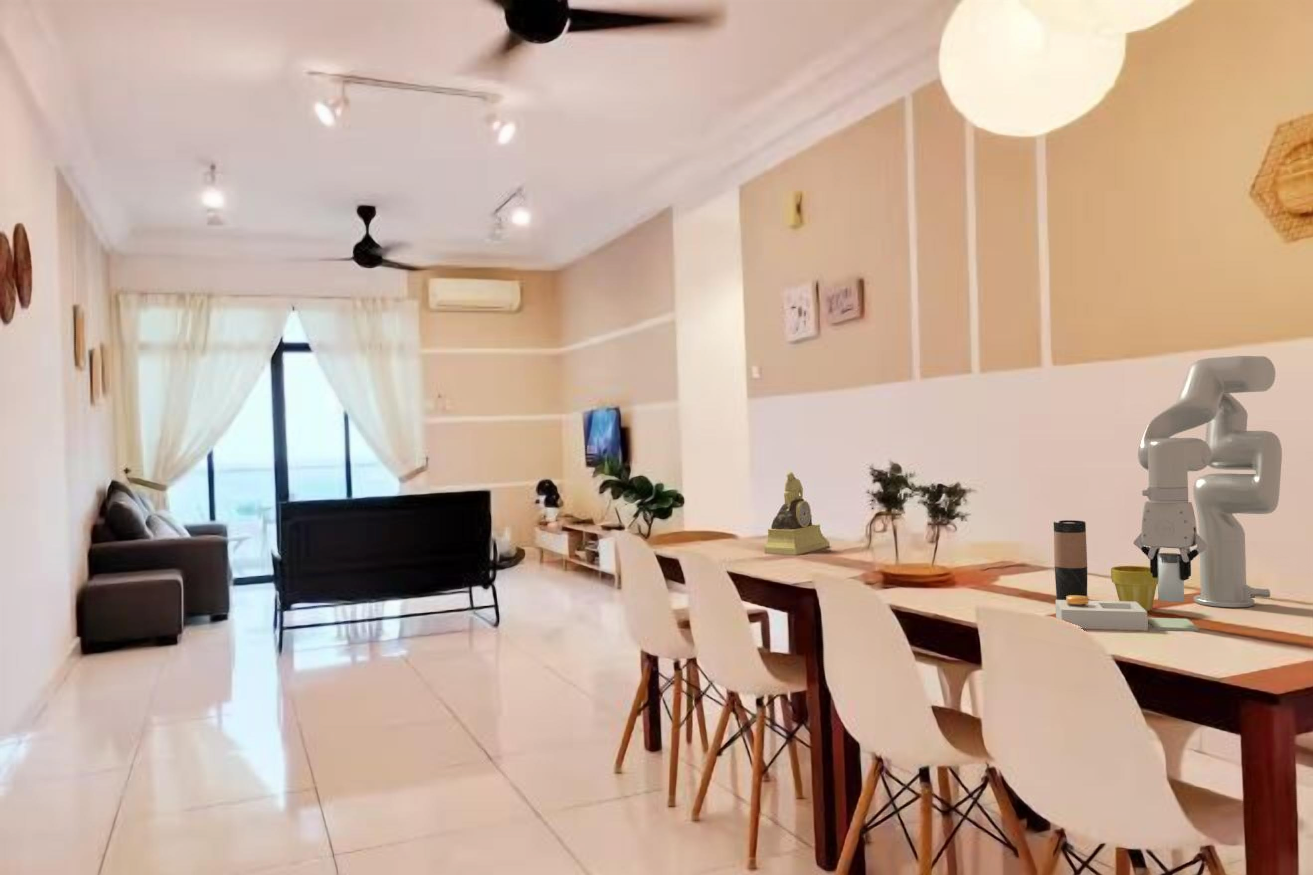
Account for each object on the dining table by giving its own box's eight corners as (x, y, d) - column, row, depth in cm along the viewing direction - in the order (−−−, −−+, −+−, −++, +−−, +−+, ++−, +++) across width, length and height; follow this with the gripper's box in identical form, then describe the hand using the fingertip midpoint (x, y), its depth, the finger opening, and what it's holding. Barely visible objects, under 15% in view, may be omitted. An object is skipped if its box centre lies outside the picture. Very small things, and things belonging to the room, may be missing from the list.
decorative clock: (795, 555, 333) (792, 473, 332) (764, 553, 340) (762, 473, 340) (829, 546, 355) (827, 469, 355) (799, 544, 363) (797, 469, 363)
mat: (1187, 621, 204) (1187, 618, 204) (1198, 630, 195) (1198, 628, 195) (1147, 620, 207) (1147, 617, 207) (1157, 629, 197) (1156, 626, 197)
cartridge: (1163, 597, 204) (1161, 552, 204) (1187, 599, 200) (1186, 554, 200) (1154, 600, 201) (1153, 554, 201) (1179, 602, 197) (1178, 556, 197)
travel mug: (1091, 602, 229) (1089, 523, 229) (1059, 602, 230) (1056, 523, 230) (1084, 597, 236) (1081, 519, 236) (1052, 597, 238) (1050, 520, 238)
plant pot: (1102, 607, 222) (1100, 567, 222) (1132, 603, 226) (1131, 563, 226) (1139, 614, 213) (1138, 573, 213) (1170, 610, 217) (1169, 569, 217)
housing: (1136, 619, 208) (1136, 601, 208) (1147, 630, 197) (1147, 611, 197) (1056, 616, 214) (1055, 599, 214) (1061, 627, 202) (1061, 609, 202)
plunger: (1087, 613, 208) (1087, 595, 208) (1090, 617, 204) (1089, 599, 204) (1065, 613, 209) (1065, 594, 209) (1068, 617, 205) (1067, 598, 205)
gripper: (1121, 495, 204) (1123, 576, 204) (1206, 497, 192) (1208, 584, 192) (1134, 493, 209) (1136, 572, 209) (1217, 495, 197) (1219, 580, 197)
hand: (1170, 577), depth 201 cm, fingers closed on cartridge, 5 cm apart
